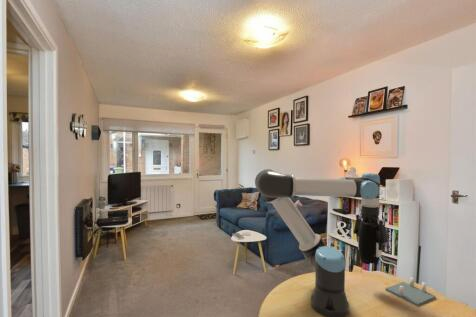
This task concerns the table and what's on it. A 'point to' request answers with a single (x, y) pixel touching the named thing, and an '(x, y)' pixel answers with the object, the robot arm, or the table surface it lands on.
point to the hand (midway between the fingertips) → (369, 252)
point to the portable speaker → (368, 242)
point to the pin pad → (411, 292)
